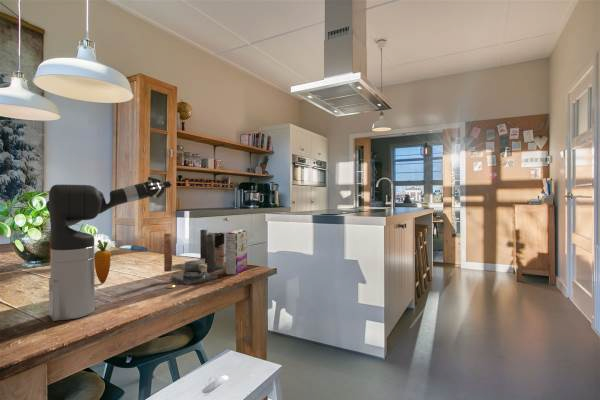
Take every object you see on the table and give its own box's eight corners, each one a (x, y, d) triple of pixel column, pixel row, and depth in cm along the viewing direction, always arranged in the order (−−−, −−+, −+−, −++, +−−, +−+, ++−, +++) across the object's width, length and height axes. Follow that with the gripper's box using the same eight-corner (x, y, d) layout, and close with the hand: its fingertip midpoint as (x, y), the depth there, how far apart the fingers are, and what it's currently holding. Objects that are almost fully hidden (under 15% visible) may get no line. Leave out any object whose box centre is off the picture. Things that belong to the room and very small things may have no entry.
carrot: (113, 283, 110) (113, 240, 110) (96, 286, 107) (96, 241, 106) (108, 280, 114) (108, 238, 113) (92, 283, 110) (92, 240, 110)
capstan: (181, 279, 104) (181, 238, 104) (159, 270, 116) (159, 233, 116) (228, 270, 117) (229, 233, 117) (205, 262, 129) (205, 229, 129)
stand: (168, 288, 105) (168, 279, 105) (153, 281, 114) (153, 272, 113) (218, 278, 118) (218, 270, 118) (201, 272, 127) (201, 264, 127)
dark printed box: (213, 269, 131) (213, 233, 131) (205, 267, 136) (205, 231, 136) (227, 267, 136) (227, 232, 136) (219, 264, 141) (219, 230, 140)
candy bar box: (236, 268, 135) (236, 229, 134) (247, 268, 134) (247, 229, 134) (224, 274, 124) (224, 232, 124) (236, 275, 123) (237, 232, 123)
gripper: (130, 185, 159) (165, 177, 169) (140, 207, 156) (175, 197, 166) (130, 177, 154) (166, 169, 164) (140, 199, 150) (176, 190, 160)
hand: (171, 183), depth 165 cm, fingers closed
